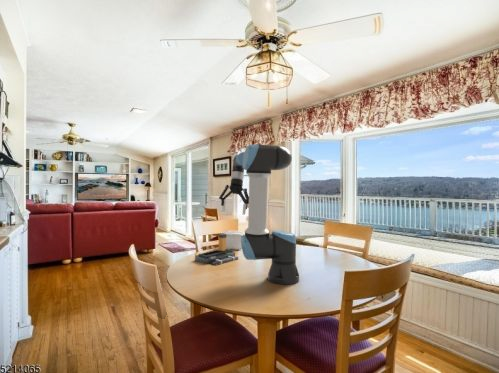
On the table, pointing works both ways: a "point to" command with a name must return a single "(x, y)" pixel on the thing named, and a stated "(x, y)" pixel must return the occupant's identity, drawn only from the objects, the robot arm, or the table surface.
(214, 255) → the breaker panel
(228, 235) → the cable organizer
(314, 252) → the table surface
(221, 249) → the breaker toggle
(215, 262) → the cord bundle
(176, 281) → the table surface
